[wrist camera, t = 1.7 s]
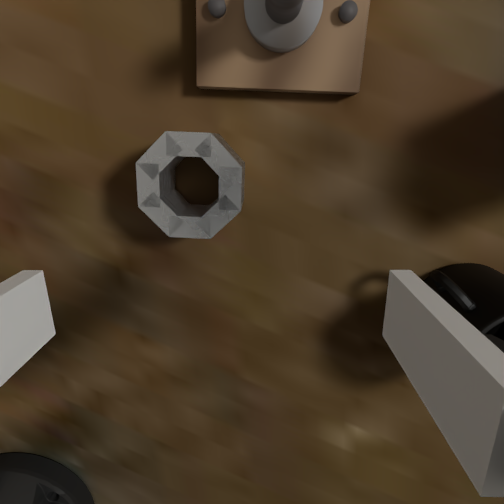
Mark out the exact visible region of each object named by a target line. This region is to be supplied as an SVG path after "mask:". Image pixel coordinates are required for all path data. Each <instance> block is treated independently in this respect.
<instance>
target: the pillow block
mask: <svg viewBox="0 0 504 504" xmlns="http://www.w3.org/2000/svg"><path fill="white" fill-rule="evenodd" d="M369 5H370V0H196V66H197V87H198V88H200V89H220V90H245V91H270V92H295V93H319V94H344V95H355V94H357V93H359V88H360V80H361V72H362V63H363V55H364V47H365V38H366V30H367V22H368V13H369Z"/></svg>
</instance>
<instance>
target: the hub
mask: <svg viewBox="0 0 504 504" xmlns="http://www.w3.org/2000/svg"><path fill="white" fill-rule="evenodd" d="M186 157H202V158H203V160H204V161H205V162H206V163H207V164H208V165H209V166H210V167H211V168H212V169H213V170H214V171H215V172H216V174H217V175H218V176H219V197H218V198H217V199H216V200H215V201H214V202H213V203H212V204H211V205H202V204H190V203H189V202H188V201H187V200H186V199H185V198H184V197H183V196H182V195H181V194H180V193H179V192H178V191H177V190H176V182H175V168H176V167H177V166H178V165H179V164H180V163H181V162H182V161H183V160H184V159H185V158H186ZM244 176H245V162H244V161H243V160H242V159H241V158H240V157H239V156H238V154H237V153H236V152H235V151H234V150H233V149H232V148H231V147H230V146H229V145H228V143H227V142H226V141H225V140H224V139H223V138H222V137H221V136H220V135H219V134H215V133H198V132H173V131H165V132H164V133H163V135H162V136H161V137H160V138H159V139H158V140H157V141H156V142H155V143H154V144H153V145H152V146H151V147H150V148H149V149H148V150H147V151H146V152H145V153H144V155H143V156H142V157H141V158H140V159H139V160H138V161H137V162H136V179H137V196H138V207H139V208H140V209H141V210H142V211H143V212H144V213H145V214H146V215H147V216H148V217H149V218H150V219H151V220H152V221H153V222H154V223H155V224H156V225H157V226H158V227H159V228H160V229H161V230H163V231H164V232H165V233H166V234H167V235H168V236H169V237H181V238H204V239H211V238H212V237H213V236H214V235H215V234H216V233H217V232H218V231H220V230H221V229H222V228H223V227H224V226H225V225H226V224H227V223H228V222H229V221H230V220H232V219H233V218H234V217H235V216H236V215H237V214H238V213H239V212H240V211H241V208H242V204H243V201H244Z"/></svg>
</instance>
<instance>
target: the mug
mask: <svg viewBox="0 0 504 504" xmlns="http://www.w3.org/2000/svg"><path fill="white" fill-rule="evenodd" d="M424 282H425V283H426V284H427V285H428V286H429V287H430V288H431V289H432V290H434V291H435V292H436V293H437V294H438V295H439V296H440V297H441V298H443V299H444V300H445V301H446V302H447V303H448V304H449V305H450V306H452V307H453V308H454V309H455V310H456V311H457V312H458V313H459V314H461V315H462V316H463V317H464V318H465V319H466V320H467V321H468V322H470V323H471V324H472V325H473V326H474V327H475V328H476V329H477V330H479V331H480V332H481V333H482V334H491V335H493V336H495V337H497V338H499V339H501V340H503V341H504V274H502V273H500V272H498V271H496V270H494V269H492V268H490V267H488V266H485V265H481V264H474V263H464V264H457V265H452V266H449V267H446V268H443V269H441V270H439V271H438V270H434V271H432V272H431V273H430V276H429V277H428V278H427V279H426V280H425V281H424Z"/></svg>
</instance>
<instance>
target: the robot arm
mask: <svg viewBox="0 0 504 504" xmlns="http://www.w3.org/2000/svg"><path fill="white" fill-rule="evenodd" d="M55 334H56V333H55V328H54V323H53V318H52V313H51V308H50V303H49V299H48V294H47V289H46V284H45V279H44V274H43V270H23V271H21V272H19V273H18V274H16V275H14V276H12V277H10V278H9V279H7V280H5V281H3V282H1V283H0V387H1V386H2V385H3V384H4V383H5V382H6V381H7V380H8V379H9V378H10V377H11V376H12V375H13V374H14V373H15V372H16V371H17V370H19V369H20V368H21V367H22V366H23V365H24V364H25V363H26V362H27V361H28V360H29V359H30V358H31V357H32V356H33V355H34V354H35V353H36V352H37V351H38V350H39V349H41V348H42V347H43V346H44V345H45V344H46V343H47V342H48V341H49V340H50V339H51V338H52V337H53V336H54V335H55ZM382 336H383V337H384V339H385V341H386V342H387V344H388V346H389V347H390V349H391V350H392V352H393V354H394V355H395V357H396V359H397V360H398V362H399V364H400V365H401V367H402V369H403V370H404V372H405V373H406V375H407V377H408V378H409V380H410V382H411V383H412V385H413V387H414V388H415V390H416V391H417V393H418V395H419V396H420V398H421V400H422V401H423V403H424V405H425V406H426V408H427V410H428V411H429V413H430V414H431V416H432V418H433V419H434V421H435V423H436V424H437V426H438V428H439V429H440V431H441V432H442V434H443V436H444V437H445V439H446V441H447V442H448V444H449V446H450V447H451V449H452V451H453V452H454V454H455V455H456V457H457V459H458V460H459V462H460V464H461V465H462V467H463V469H464V470H465V472H466V473H467V475H468V477H469V478H470V480H471V482H472V483H473V485H474V487H475V488H476V490H477V491H478V493H479V495H480V496H481V497H504V341H503V340H501V339H499V338H497V337H495V336H493V335H491V334H482V333H481V332H480V331H479V330H477V329H476V328H475V327H474V326H473V325H472V324H471V323H470V322H468V321H467V320H466V319H465V318H464V317H463V316H462V315H461V314H459V313H458V312H457V311H456V310H455V309H454V308H453V307H452V306H450V305H449V304H448V303H447V302H446V301H445V300H444V299H443V298H441V297H440V296H439V295H438V294H437V293H436V292H435V291H434V290H432V289H431V288H430V287H429V286H428V285H427V284H426V283H425V282H424V281H422V280H421V279H420V278H419V277H418V276H417V275H416V274H415V273H413V272H412V271H411V270H390V272H389V281H388V290H387V298H386V307H385V316H384V324H383V333H382ZM0 504H94V501H93V498H92V495H91V493H90V492H89V490H88V488H87V487H86V485H85V484H84V483H83V482H82V481H81V479H80V478H79V477H77V476H76V475H75V474H74V473H73V472H71V471H70V470H69V469H67V468H66V467H64V466H62V465H61V464H59V463H57V462H55V461H52V460H50V459H47V458H44V457H41V456H37V455H32V454H26V453H6V454H0Z"/></svg>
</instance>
